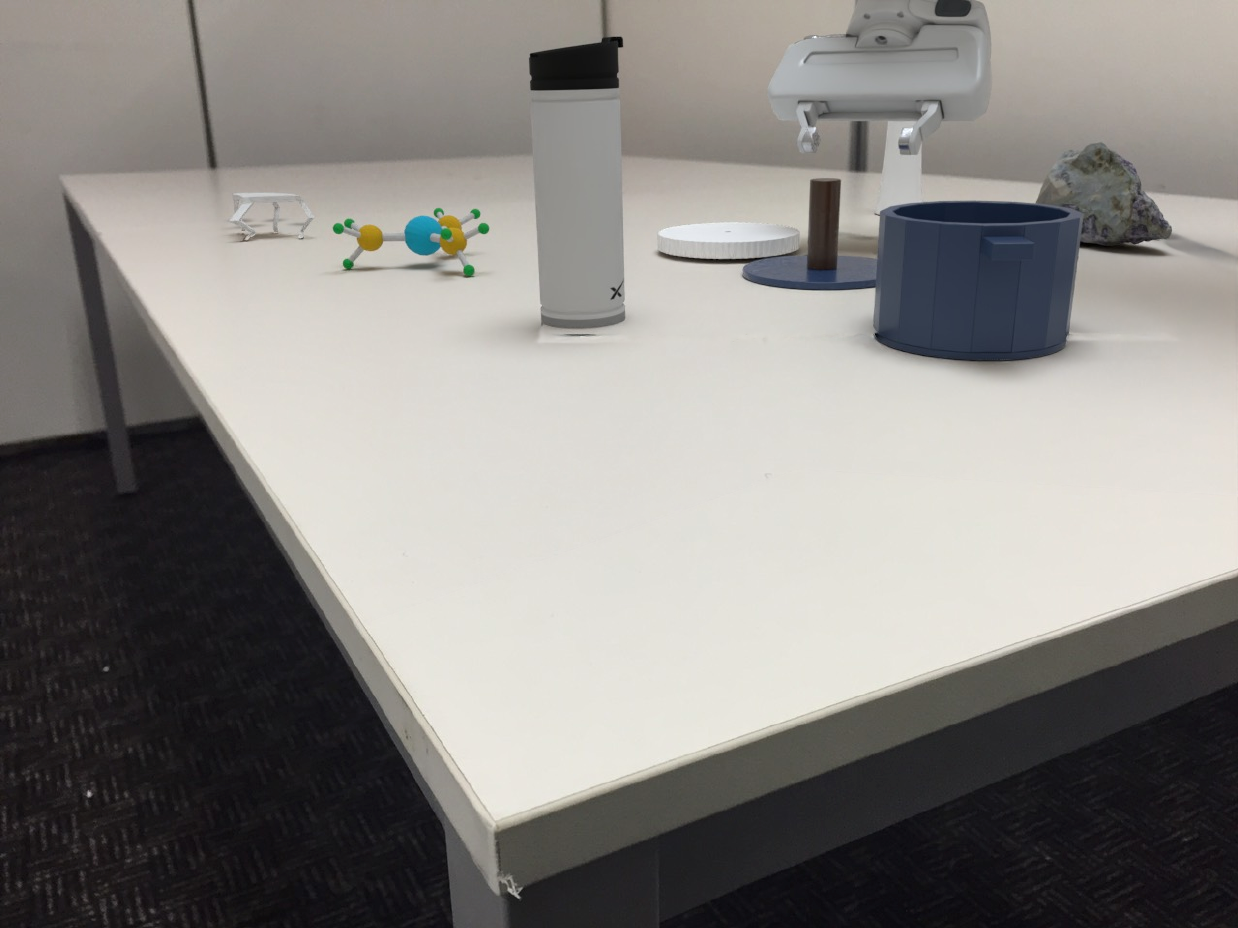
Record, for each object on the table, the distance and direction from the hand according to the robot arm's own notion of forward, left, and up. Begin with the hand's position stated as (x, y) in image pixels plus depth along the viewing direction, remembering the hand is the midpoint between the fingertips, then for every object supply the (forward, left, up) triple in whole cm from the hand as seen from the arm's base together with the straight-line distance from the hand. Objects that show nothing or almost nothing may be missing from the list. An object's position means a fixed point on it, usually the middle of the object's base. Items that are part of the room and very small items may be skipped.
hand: (855, 149), depth 96 cm
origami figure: (+65, -24, -11) cm, 70 cm away
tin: (-5, +28, -11) cm, 30 cm away
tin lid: (+3, +7, -10) cm, 12 cm away
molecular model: (+40, -2, -11) cm, 42 cm away
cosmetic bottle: (-11, -38, -11) cm, 41 cm away
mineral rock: (-26, -11, -11) cm, 30 cm away
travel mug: (+22, +24, -11) cm, 34 cm away
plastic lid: (+11, -6, -11) cm, 17 cm away
